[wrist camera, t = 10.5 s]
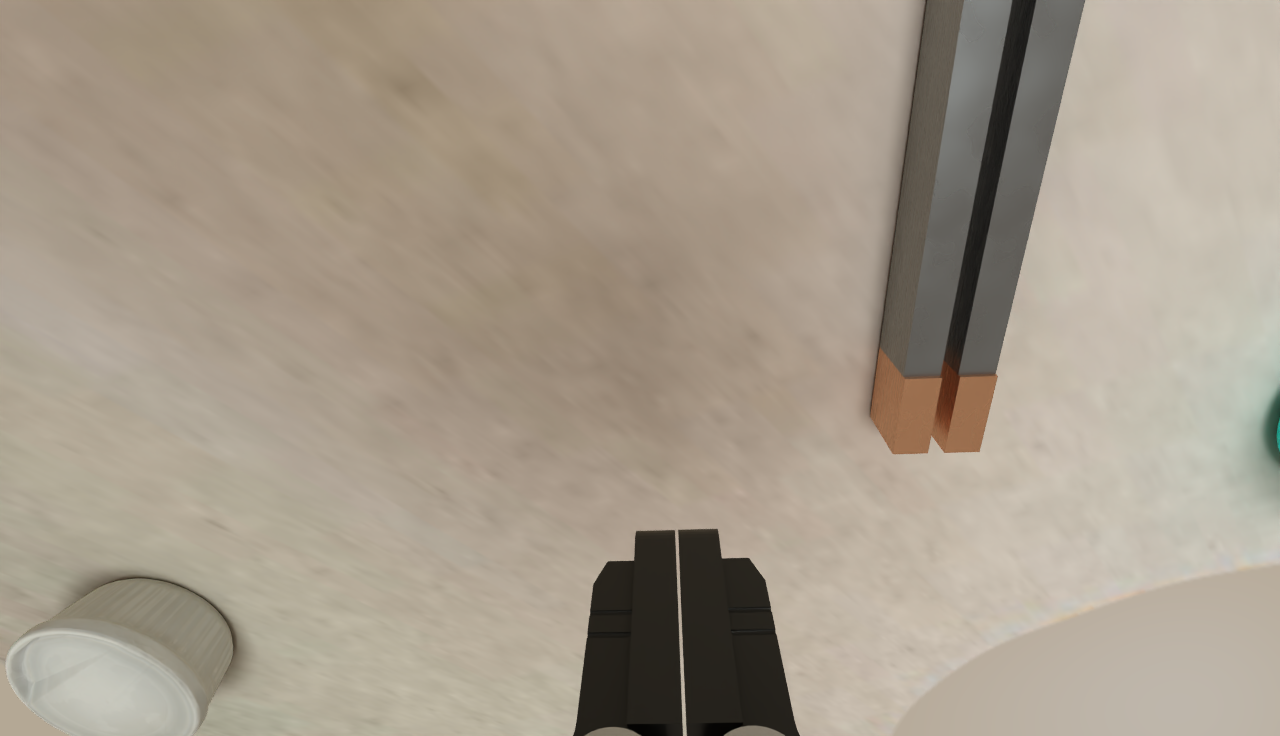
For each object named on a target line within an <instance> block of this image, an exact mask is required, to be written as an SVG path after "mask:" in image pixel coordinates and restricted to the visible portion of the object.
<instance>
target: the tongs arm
mask: <svg viewBox="0 0 1280 736" xmlns="http://www.w3.org/2000/svg"><path fill="white" fill-rule="evenodd" d="M1011 6H1012V0H927V5H926V13H925V20H924V27H923V35H922V42H921V49H920V56H919V64H918V71H917V78H916V86H915V93H914V100H913V108H912V115H911V122H910V129H909V137H908V144H907V151H906V159H905V166H904V173H903V181H902V188H901V195H900V202H899V210H898V217H897V224H896V232H895V239H894V246H893V254H892V261H891V268H890V275H889V283H888V290H887V297H886V305H885V312H884V319H883V327H882V334H881V341H880V348H879V356H878V363H877V370H876V378H875V385H874V392H873V400H872V407H871V414H870V417H871V419H872V420H873V422H874V424H875V425H876V427H877V429H878V430H879V432H880V434H881V435H882V437H883V438H884V440H885V442H886V443H887V445H888V447H889V448H890V450H891V452H892V453H893V454H917V453H928V449H929V444H930V439H931V434H932V429H933V423H934V418H935V413H936V408H937V403H938V398H939V392H940V387H941V382H942V377H941V376H940V375H941V370H942V365H943V360H944V354H945V349H946V344H947V339H948V334H949V328H950V323H951V318H952V313H953V308H954V302H955V297H956V292H957V287H958V282H959V276H960V271H961V266H962V261H963V256H964V250H965V245H966V240H967V235H968V229H969V224H970V219H971V214H972V209H973V203H974V198H975V193H976V188H977V183H978V177H979V172H980V167H981V162H982V157H983V151H984V146H985V141H986V136H987V131H988V125H989V120H990V115H991V110H992V104H993V99H994V94H995V89H996V84H997V78H998V73H999V68H1000V63H1001V58H1002V52H1003V47H1004V42H1005V37H1006V32H1007V26H1008V21H1009V16H1010V11H1011Z"/></svg>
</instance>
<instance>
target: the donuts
mask: <svg viewBox="0 0 1280 736" xmlns="http://www.w3.org/2000/svg"><path fill="white" fill-rule="evenodd" d="M1277 444H1278V448H1279V452H1280V419H1279V423H1278V428H1277Z"/></svg>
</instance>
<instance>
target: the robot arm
mask: <svg viewBox="0 0 1280 736" xmlns="http://www.w3.org/2000/svg"><path fill="white" fill-rule="evenodd" d="M678 533H679V560H680V587H681V612H682V635H683V658H684V681H685V704H686V727H687V736H800V735H799V733H798V730H797V728H796V724H795V721H794V716H793V712H792V707H791V702H790V697H789V692H788V688H787V683H786V678H785V673H784V668H783V664H782V659H781V654H780V649H779V644H778V639H777V635H776V633H775V625H774V620H773V615H772V612H771V606H770V601H769V596H768V591H767V587H766V582H765V579H764V578H763V577H762V575H761V574H760V573H759V571H758V570H757V569H756V567H755V566H754V564H753V563H752V562H751V560H750V559H749V558H726V559H722V557H721V549H720V542H719V534H718V529H694V530H678ZM573 736H683V726H682V700H681V673H680V647H679V620H678V594H677V570H676V545H675V530H663V531H636V536H635V557H634V561H608V562H607V563H606V565H605V567H604V568H603V570H602V571H601V573H600V575H599V576H598V578H597V579H596V581H595V583H594V584H593V592H592V601H591V609H590V617H589V625H588V638H587V641H586V649H585V658H584V666H583V674H582V682H581V690H580V698H579V707H578V715H577V723H576V728H575V732H574V735H573Z"/></svg>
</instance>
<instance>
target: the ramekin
mask: <svg viewBox="0 0 1280 736" xmlns="http://www.w3.org/2000/svg"><path fill="white" fill-rule="evenodd" d="M232 656H233V643H232V635H231V631H230V629H229V626H228V624H227V622H226V621H225V619H224V618H223V617H222V615H221V614H220V613H219V612H218V611H217V610H216V609H215V608H214V607H213V606H212V605H211V604H210V603H208V602H207V601H206V600H204V599H203V598H201V597H200V596H198V595H196V594H195V593H193V592H191V591H189V590H187V589H185V588H182V587H180V586H177V585H174V584H171V583H168V582H164V581H159V580H154V579H145V578H135V579H126V580H120V581H115V582H112V583H108V584H105V585H103V586H101V587H99V588H97V589H95V590H94V591H92V592H91V593H89V594H87V595H86V596H84V597H83V598H81V599H80V600H78V601H77V602H75V603H74V604H72V605H71V606H69V607H68V608H66V609H65V610H63V611H62V612H60V613H59V614H58V615H56V616H55V617H53V618H52V619H50V620H48V621H45V622H43V623H40V624H38V625H36V626H35V627H33V628H31V629H30V630H28V631H27V632H26V633H25V634H23V635H22V636H21V637H20V638H19V639H18V640H17V641H16V642H15V643H14V644H13V645H12V646H11V648H10V649H9V651H8V653H7V656H6V661H5V667H6V674H7V678H8V681H9V683H10V685H11V687H12V689H13V690H14V691H15V693H16V695H17V696H18V697H19V699H20V700H21V701H22V702H23V703H24V704H25V705H26V706H27V707H28V708H29V709H30V710H31V711H32V712H33V713H35V714H36V715H37V716H38V717H40V718H41V719H43V720H44V721H45V722H47V723H49V724H50V725H51V726H53V727H55V728H56V729H58V730H60V731H62V732H64V733H66V734H68V735H71V736H193V735H194V734H195V733H196V731H197V730H198V729H199V727H200V726H201V724H202V723H203V721H204V719H205V717H206V715H207V711H208V705H209V704H210V702H211V700H212V698H213V696H214V694H215V692H216V690H217V688H218V686H219V684H220V682H221V680H222V678H223V676H224V675H225V673H226V671H227V669H228V667H229V665H230V663H231V659H232Z"/></svg>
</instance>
